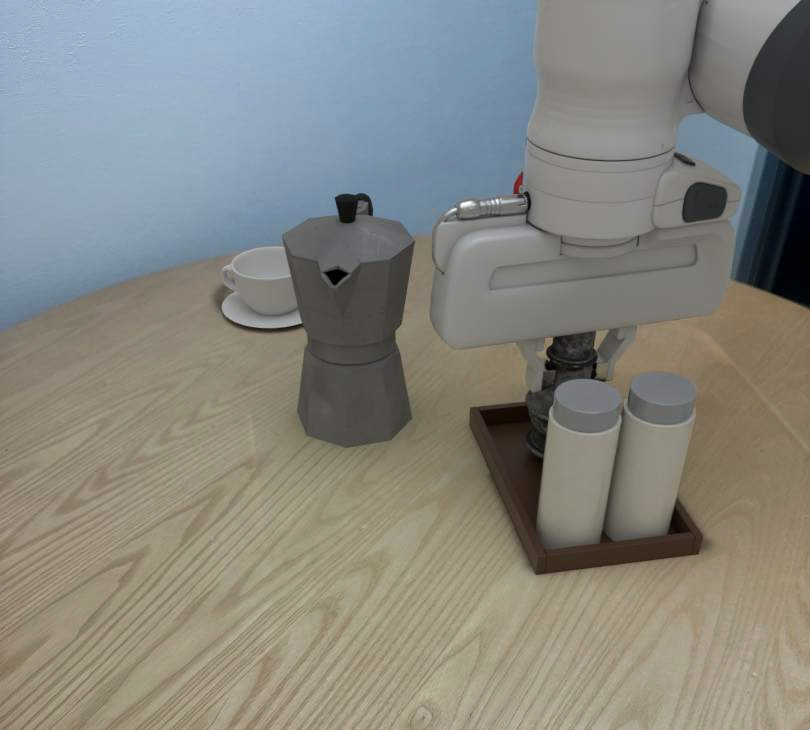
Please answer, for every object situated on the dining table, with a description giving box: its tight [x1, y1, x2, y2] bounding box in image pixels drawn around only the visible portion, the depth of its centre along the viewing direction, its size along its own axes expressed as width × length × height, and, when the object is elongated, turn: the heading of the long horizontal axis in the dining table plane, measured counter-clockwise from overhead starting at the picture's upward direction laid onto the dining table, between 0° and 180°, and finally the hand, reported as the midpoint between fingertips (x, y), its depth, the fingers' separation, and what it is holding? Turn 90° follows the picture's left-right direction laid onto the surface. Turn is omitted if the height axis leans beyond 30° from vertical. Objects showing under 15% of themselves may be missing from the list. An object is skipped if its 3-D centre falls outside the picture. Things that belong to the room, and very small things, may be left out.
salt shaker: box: [524, 331, 598, 458], centre depth 66 cm, size 6×6×12 cm
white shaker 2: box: [603, 371, 698, 541], centre depth 61 cm, size 4×4×11 cm
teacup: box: [220, 246, 302, 329], centre depth 89 cm, size 10×10×5 cm
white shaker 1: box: [535, 379, 623, 550], centre depth 60 cm, size 4×4×11 cm
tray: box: [468, 401, 704, 576], centre depth 68 cm, size 11×18×2 cm, turn 11°
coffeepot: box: [281, 192, 416, 449], centre depth 71 cm, size 15×9×18 cm, turn 174°
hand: (569, 383), depth 67 cm, fingers closed on salt shaker, 3 cm apart
